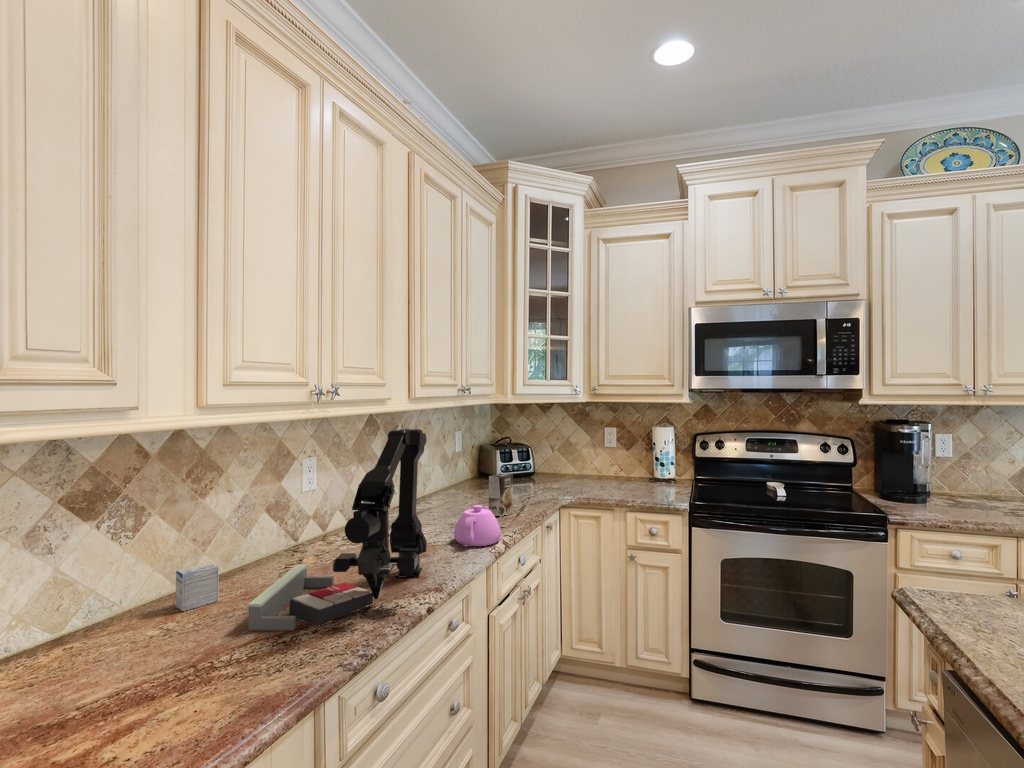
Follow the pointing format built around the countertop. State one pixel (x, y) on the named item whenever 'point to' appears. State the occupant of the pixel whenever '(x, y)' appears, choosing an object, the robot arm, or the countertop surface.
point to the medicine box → (197, 586)
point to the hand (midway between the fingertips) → (376, 598)
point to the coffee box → (501, 494)
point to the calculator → (329, 603)
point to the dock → (282, 599)
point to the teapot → (477, 527)
